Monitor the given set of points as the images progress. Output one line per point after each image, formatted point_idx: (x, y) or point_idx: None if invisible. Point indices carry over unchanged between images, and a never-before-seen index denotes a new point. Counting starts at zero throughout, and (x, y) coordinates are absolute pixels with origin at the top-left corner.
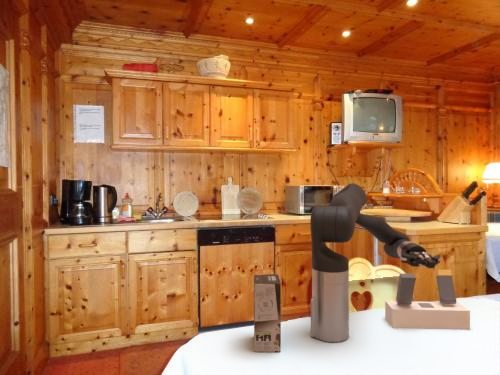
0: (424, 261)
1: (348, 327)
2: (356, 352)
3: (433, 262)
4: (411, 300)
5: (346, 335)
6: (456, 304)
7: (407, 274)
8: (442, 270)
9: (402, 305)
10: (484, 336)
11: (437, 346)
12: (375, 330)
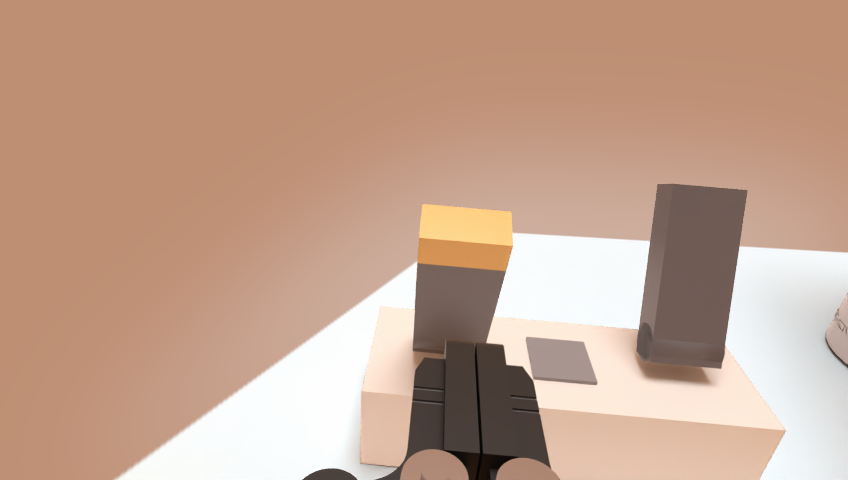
0: (538, 407)
1: (842, 314)
2: (766, 288)
3: (452, 342)
4: (641, 325)
5: (832, 321)
6: (391, 364)
7: (704, 187)
8: (479, 213)
9: (677, 368)
10: (365, 329)
11: (550, 295)
12: (755, 385)
